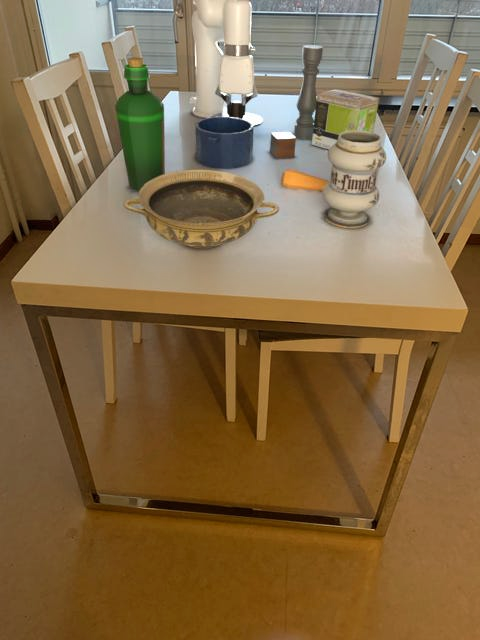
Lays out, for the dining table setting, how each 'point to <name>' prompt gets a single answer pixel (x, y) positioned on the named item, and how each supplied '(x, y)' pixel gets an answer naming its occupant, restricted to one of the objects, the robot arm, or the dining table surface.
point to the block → (282, 145)
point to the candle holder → (308, 92)
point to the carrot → (302, 180)
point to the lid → (249, 117)
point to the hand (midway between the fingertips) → (236, 117)
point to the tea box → (342, 115)
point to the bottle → (141, 126)
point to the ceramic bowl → (201, 206)
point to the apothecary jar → (353, 178)
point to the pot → (224, 142)
